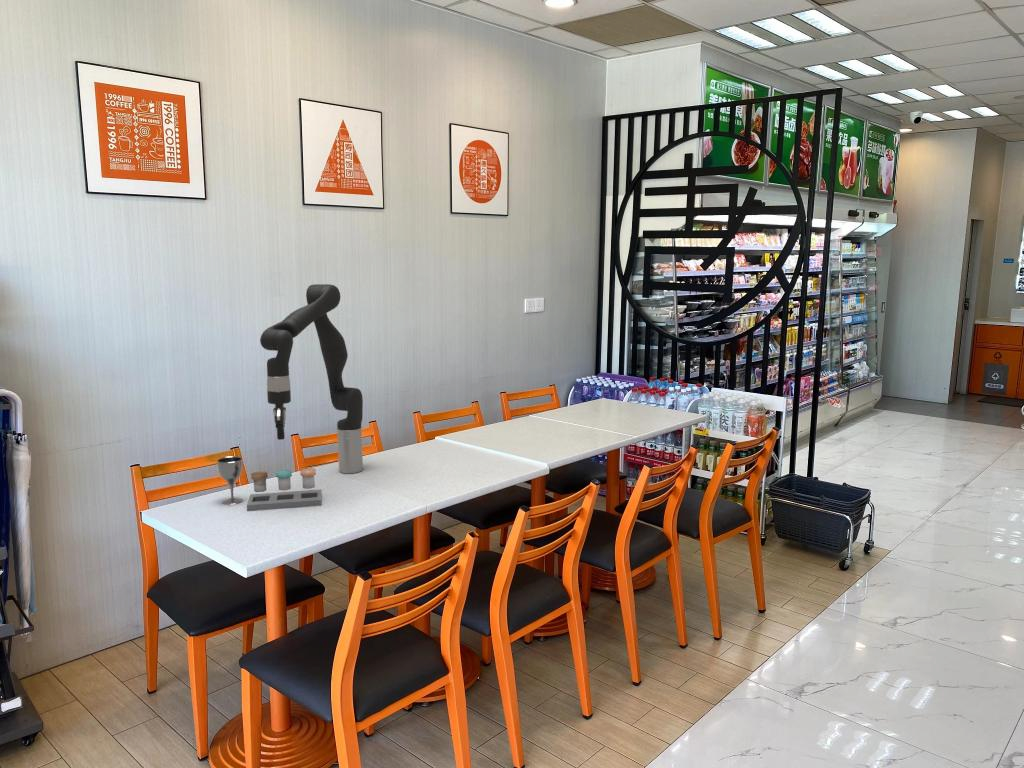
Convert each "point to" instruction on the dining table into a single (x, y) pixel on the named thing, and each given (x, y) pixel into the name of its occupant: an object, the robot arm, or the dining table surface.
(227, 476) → the wine glass
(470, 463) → the dining table surface
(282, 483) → the teal button
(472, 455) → the dining table surface
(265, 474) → the walnut button
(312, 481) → the terracotta button
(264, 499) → the button board
